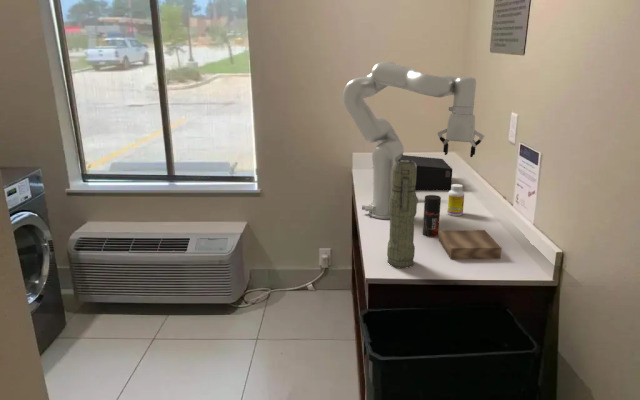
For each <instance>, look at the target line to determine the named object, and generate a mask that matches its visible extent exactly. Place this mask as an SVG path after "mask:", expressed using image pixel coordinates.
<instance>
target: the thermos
mask: <svg viewBox="0 0 640 400" xmlns="http://www.w3.org/2000/svg"><path fill="white" fill-rule="evenodd" d="M416 174H417V169H416V166H415V162H414V161H412V160H409V159H399V160H397V161H395V164H394V167H393V170H392V192H391V195H390V197H389V213H390V219H389V238H388V242H387V248H386V249H387V251H386V252H387V253H386V254H387V262H386V263H387V264H388V263H389V264H390V265H392V266H394V267H393V268H396V267H400V268H399V269H407V268H406V267H408V268H411V267H413V265H414V261H415V260H414V258H415V253H416V252H415V250H416V249H415V247H416V246H415V243H414V236H415V217H416V215H417V211H418V210H417V209H418V208H417V206H418V196H417V190H416V189H415V186H416ZM389 264H388V265H389ZM390 265H389V266H390ZM392 266H391V267H392ZM410 266H411V267H410Z"/></svg>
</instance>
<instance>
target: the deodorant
mask: <svg viewBox="0 0 640 400" xmlns="http://www.w3.org/2000/svg"><path fill="white" fill-rule="evenodd" d="M441 200H442V197H441V196H439V195H436V194H427V195H425V196H424V204H423V206H424V208H423V220H422V221H423V223H422V235H423V236H425V237H427V238H436V237H439V230H440V216H441V204H442V203H441Z"/></svg>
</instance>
